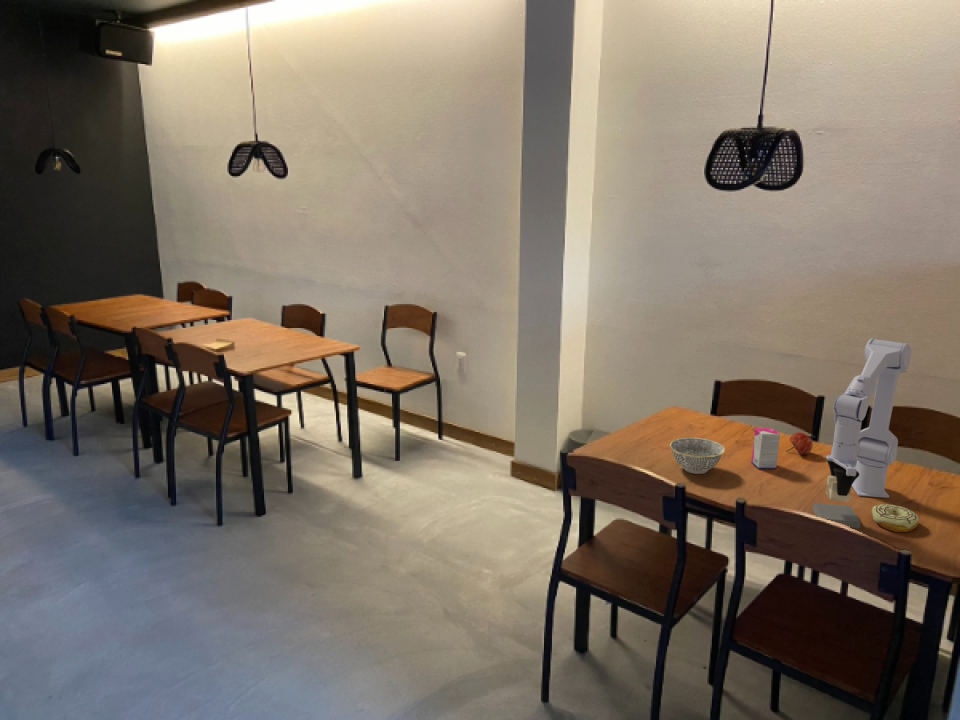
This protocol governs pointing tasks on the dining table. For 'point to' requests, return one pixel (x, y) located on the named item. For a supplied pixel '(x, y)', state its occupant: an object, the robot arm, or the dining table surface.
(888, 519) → the decorated donut
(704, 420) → the dining table surface
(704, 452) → the bowl
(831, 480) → the birch block
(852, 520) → the slate base
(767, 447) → the supplement box
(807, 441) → the red stemmed fruit
